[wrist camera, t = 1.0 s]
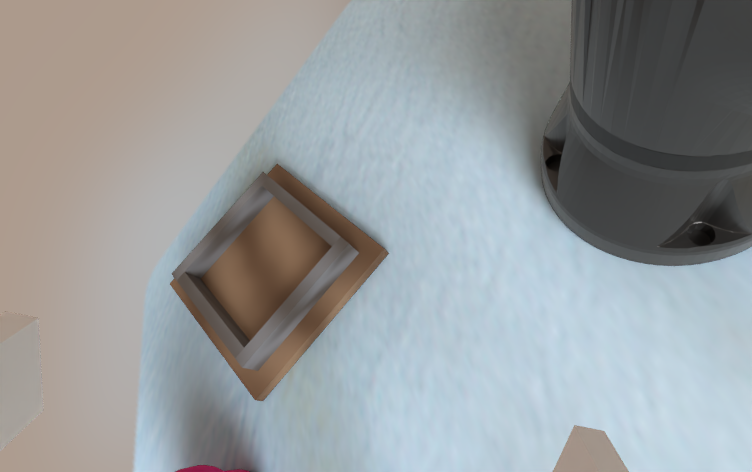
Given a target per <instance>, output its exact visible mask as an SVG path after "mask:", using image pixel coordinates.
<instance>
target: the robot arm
mask: <svg viewBox="0 0 752 472" xmlns="http://www.w3.org/2000/svg"><path fill="white" fill-rule="evenodd" d="M541 171H542V181H543V186H544V189H545V193H546V195H547V198H548V200H549V202H550V204H551V206H552V208H553V209H554V211H555V212H556V214H557V215H558V216H559V218H560V219H561V220H562V221H563V222H564V224H565V225H566V226H567V227H568V228H569V229H570V230H572V231H573V232H574V233H575V234H576V235H578V236H579V237H580V238H582V239H583V240H585V241H586V242H588V243H589V244H591V245H593V246H595V247H596V248H598V249H600V250H602V251H605V252H607V253H609V254H612V255H614V256H617V257H620V258H623V259H627V260H631V261H635V262H640V263H645V264H653V265H665V266H682V265H694V264H701V263H707V262H712V261H716V260H720V259H723V258H726V257H729V256H732V255H735V254H737V253H740V252H742V251H744V250H746V249H748V248H750V247H752V0H572V13H571V58H570V83H569V85H568V86H567V88H566V90H565V92H564V94H563V96H562V97H561V99H560V101H559V103H558V105H557V107H556V108H555V110H554V112H553V114H552V116H551V117H550V120H549V122H548V124H547V127H546V129H545V133H544V136H543V141H542V146H541ZM42 411H43V392H42V374H41V355H40V336H39V318H36V317H32V316H27V315H22V314H17V313H12V312H6V311H5V312H4V313H2V314H0V451H1V450H2V449H3V448H4V447H5V446H6V445H7V444H8V443H9V442H10V441H11V440H13V439H14V438H15V437H16V436H17V435H18V434H19V433H20V432H21V431H22V430H23V429H24V428H25V427H26V426H27V425H28V424H29V423H31V422H32V421H33V420H34V419H35V418H36V417H37V416H38V415H39V414H40V413H41V412H42ZM553 472H629V471H628V470H627V468H626V466H625V465H624V463H623V461H622V460H621V458H620V456H619V455H618V453H617V451H616V450H615V448H614V447H613V445H612V443H611V442H610V440H609V438H608V437H607V435H606V433H605V432H604V431H601V430H596V429H591V428H586V427H581V426H576V425H574V427H573V430H572V432H571V434H570V436H569V438H568V440H567V442H566V445H565V447H564V449H563V451H562V453H561V455H560V457H559V460H558V462H557V464H556V466H555V468H554V470H553Z"/></svg>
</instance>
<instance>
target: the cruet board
mask: <svg viewBox="0 0 752 472" xmlns="http://www.w3.org/2000/svg"><path fill="white" fill-rule="evenodd" d="M388 254H389V253H388V252H387V251H386V250H385V249H384V248H383V247H381V246H380V245H379V244H378V243H376V242H375V241H374V240H373V239H371V238H370V237H369V236H368V235H366V234H365V233H364V232H363V231H361V230H360V229H359V228H358V227H356V226H355V225H354V224H352V223H351V222H350V221H349V220H347V219H346V218H345V217H344V216H342V215H341V214H340V213H339V212H337V211H336V210H335V209H334V208H332V207H331V206H330V205H329V204H327V203H326V202H325V201H324V200H322V199H321V198H320V197H318V196H317V195H316V194H315V193H313V192H312V191H311V190H310V189H308V188H307V187H306V186H305V185H303V184H302V183H301V182H300V181H298V180H297V179H296V178H295V177H293V176H292V175H291V174H290V173H288V172H287V171H286V170H284V169H283V168H282V167H281V166H279V165H278V164H276V166H275V167H274V168H273V169H272V170H271V171H270V172H269V173H268V175H266V174H265V173H264V172H263V173H262V174H261V175H260V176H259V177H258V178H257V179H256V180H255V181H254V183H253V184H252V185H251V186H250V187H249V188H248V189H247V190H246V191H245V193H244V194H243V195H242V196H241V197H240V198H239V199H238V200H237V202H236V203H235V204H234V205H233V206H232V207H231V208H230V209H229V210H228V212H227V213H226V214H225V215H224V216H223V217H222V218H221V219H220V220H219V222H218V223H217V224H216V225H215V226H214V227H213V228H212V229H211V231H210V232H209V233H208V234H207V235H206V236H205V237H204V238H203V239H202V241H201V242H200V243H199V244H198V245H197V246H196V247H195V248H194V249H193V251H192V252H191V253H190V254H189V255H188V256H187V257H186V258H185V260H184V261H183V262H182V263H181V264H180V265H179V266H178V267H177V268H176V270H175V271H174V272H173V273H172V275H173V277H174V280H173V281H172V282H171V283H170V285H171V286H172V288H173V289H174V290H175V292H176V293H177V294H178V296H179V297H180V298H181V300H182V301H183V303H184V304H185V305H186V307H187V308H188V309H189V311H190V312H191V313H192V315H193V316H194V318H195V319H196V320H197V322H198V323H199V324H200V326H201V327H202V328H203V330H204V331H205V333H206V334H207V335H208V337H209V338H210V339H211V341H212V342H213V343H214V345H215V346H216V347H217V349H218V350H219V352H220V353H221V354H222V356H223V357H224V358H225V360H226V361H227V362H228V364H229V365H230V367H231V368H232V369H233V371H234V372H235V373H236V375H237V376H238V377H239V379H240V380H241V382H242V383H243V384H244V386H245V387H246V388H247V390H248V391H249V392H250V394H251V395H252V396H253V398H254V399H255V400H258V401H263V400H264V399H265V398H266V397H267V396H268V394H269V393H270V392H271V391H272V390H273V389H274V387H275V386H276V385H277V384H278V383H279V382H280V380H281V379H282V378H283V377H284V376H285V375H286V373H287V372H288V371H289V370H290V369H291V367H292V366H293V365H294V364H295V363H296V362H297V360H298V359H299V358H300V357H301V356H302V355H303V353H304V352H305V351H306V350H307V349H308V348H309V346H310V345H311V344H312V343H313V342H314V340H315V339H316V338H317V337H318V336H319V335H320V333H321V332H322V331H323V330H324V329H325V328H326V326H327V325H328V324H329V323H330V322H331V321H332V319H333V318H334V317H335V316H336V315H337V313H338V312H339V311H340V310H341V309H342V308H343V306H344V305H345V304H346V303H347V302H348V301H349V299H350V298H351V297H352V296H353V295H354V294H355V292H356V291H357V290H358V289H359V288H360V287H361V285H362V284H363V283H364V282H365V281H366V279H367V278H368V277H369V276H370V275H371V274H372V272H373V271H374V270H375V269H376V268H377V267H378V265H379V264H380V263H381V262H382V261H383V260H384V258H385V257H386V256H387V255H388Z"/></svg>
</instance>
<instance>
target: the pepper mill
mask: <svg viewBox="0 0 752 472" xmlns="http://www.w3.org/2000/svg"><path fill="white" fill-rule="evenodd" d="M176 472H249V471H246V470H240V469H237V470H228V471H223V470H221V469H219V468H216V467H213V466H207V465H197V466H193V467H189V468H184V469H180V470H178V471H176Z"/></svg>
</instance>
